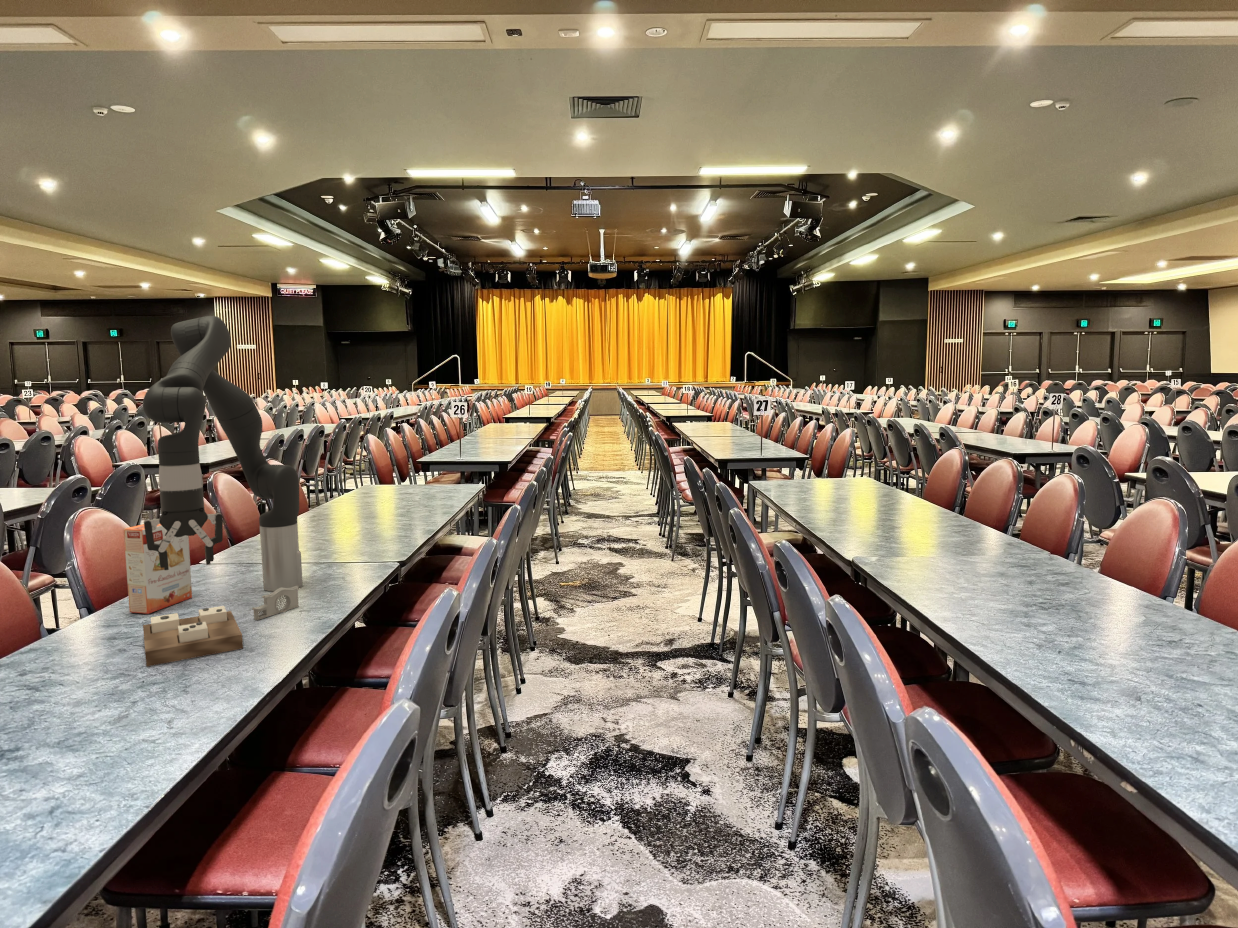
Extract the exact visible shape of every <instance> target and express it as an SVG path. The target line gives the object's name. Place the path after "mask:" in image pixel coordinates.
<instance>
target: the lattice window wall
mask: <svg viewBox="0 0 1238 928" xmlns="http://www.w3.org/2000/svg"><path fill="white" fill-rule="evenodd" d="M299 588H300V587H298V586H294V587H292V588H279V589H277V590H275V591H272V592H271V593H270V594H265V595H262V596H261V598H262V599H263V604H262V605H259V606H255V607H252V608H251V610H253V611H252V612H253V620H255V621H259V620H262V619H265V618H268V617H271V616H274V615H277V614H280V613H286V612H288V611H289V610H292V609H295V608H298V607H299V592H298V590H299Z"/></svg>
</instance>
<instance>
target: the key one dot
mask: <svg viewBox="0 0 1238 928" xmlns="http://www.w3.org/2000/svg"><path fill="white" fill-rule="evenodd" d="M179 619H180V617H179V614H178V612H176V613H170V614H163V615H157V616H156V615H155V616H151V617H150V624H151V627H152V633H157V632H163V631H169V630H175V629H178V626H180V624H179Z"/></svg>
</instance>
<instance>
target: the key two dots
mask: <svg viewBox="0 0 1238 928" xmlns="http://www.w3.org/2000/svg"><path fill="white" fill-rule="evenodd" d="M198 616H199V621H200V622H206V624H211V623H217V622H223V621H227V609H226V607H225V605H221V606H214V607H209V608H208V607H206V608H203V609H198Z"/></svg>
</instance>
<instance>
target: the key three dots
mask: <svg viewBox="0 0 1238 928" xmlns="http://www.w3.org/2000/svg"><path fill="white" fill-rule="evenodd" d="M178 634H179V643H183V642H189V641H195V640H200V639H206V638H208V628H207V625H206V622H198V623H194V624H188V625H182V626H178Z"/></svg>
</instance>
